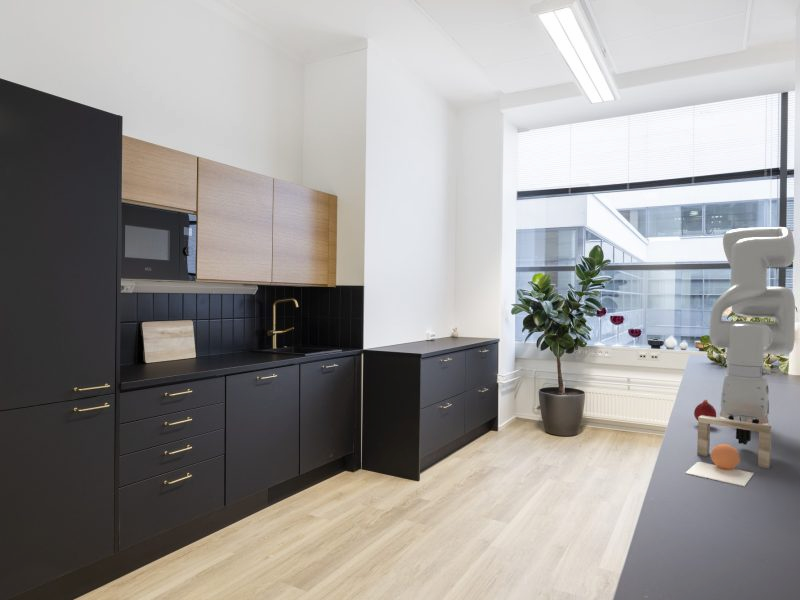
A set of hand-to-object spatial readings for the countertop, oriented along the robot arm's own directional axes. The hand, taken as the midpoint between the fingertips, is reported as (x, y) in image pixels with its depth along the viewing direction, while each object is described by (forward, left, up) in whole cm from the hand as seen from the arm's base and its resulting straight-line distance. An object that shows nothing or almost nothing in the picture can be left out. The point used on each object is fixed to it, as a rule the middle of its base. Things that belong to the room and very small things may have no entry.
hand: (743, 442), depth 136 cm
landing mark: (+27, 0, -2) cm, 27 cm away
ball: (+22, 0, +1) cm, 22 cm away
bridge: (+13, 0, -2) cm, 13 cm away
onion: (-20, -13, -2) cm, 24 cm away
